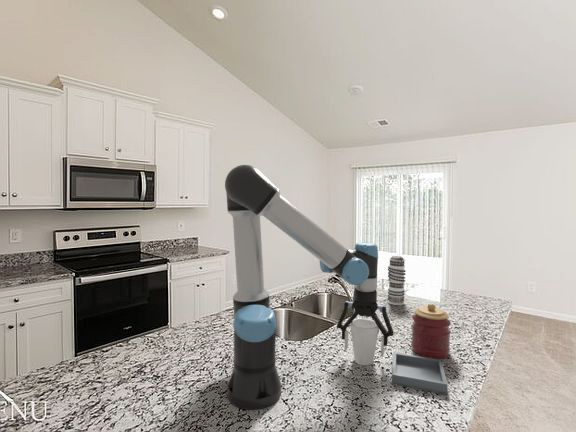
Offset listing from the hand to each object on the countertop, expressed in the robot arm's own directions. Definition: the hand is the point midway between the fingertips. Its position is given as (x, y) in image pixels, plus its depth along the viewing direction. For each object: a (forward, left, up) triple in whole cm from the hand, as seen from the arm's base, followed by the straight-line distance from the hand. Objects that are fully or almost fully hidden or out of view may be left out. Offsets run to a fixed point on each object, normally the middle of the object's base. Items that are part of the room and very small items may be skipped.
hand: (363, 351), depth 110 cm
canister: (+16, -22, -3) cm, 27 cm away
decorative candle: (+71, -9, -3) cm, 72 cm away
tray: (-4, -17, -3) cm, 18 cm away
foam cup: (0, 0, -3) cm, 3 cm away
